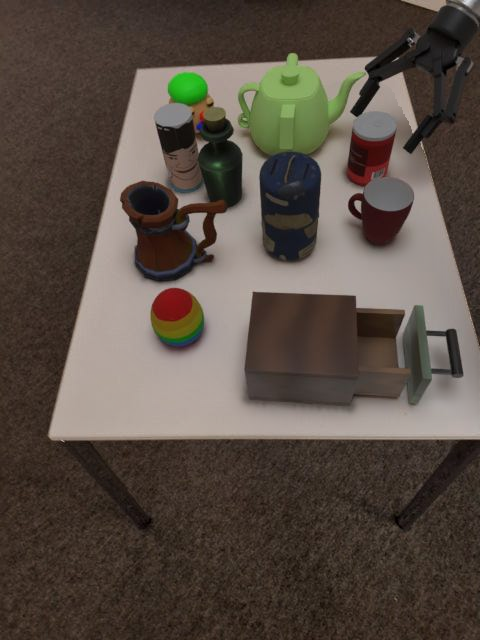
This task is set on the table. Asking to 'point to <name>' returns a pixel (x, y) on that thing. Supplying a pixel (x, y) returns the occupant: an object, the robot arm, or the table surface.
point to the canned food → (370, 146)
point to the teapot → (292, 108)
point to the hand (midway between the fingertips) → (379, 132)
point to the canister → (290, 204)
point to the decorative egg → (177, 317)
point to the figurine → (191, 95)
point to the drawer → (381, 353)
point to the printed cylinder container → (179, 146)
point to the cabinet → (302, 348)
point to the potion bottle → (220, 158)
